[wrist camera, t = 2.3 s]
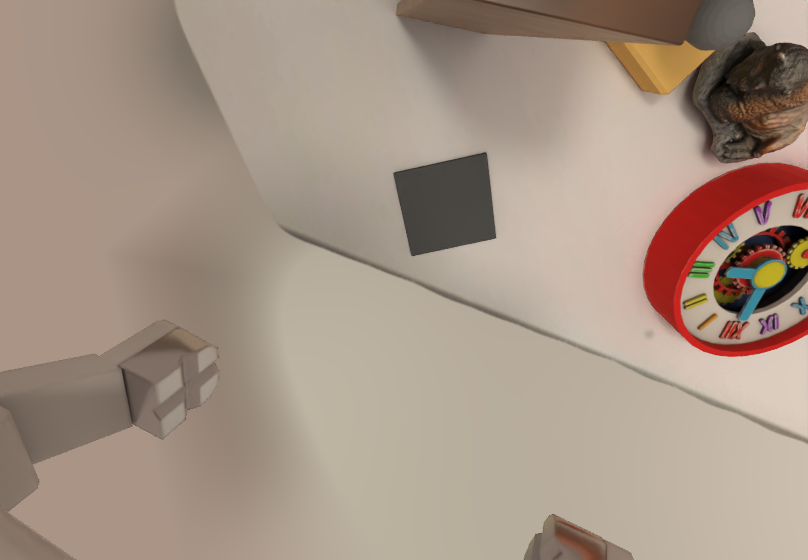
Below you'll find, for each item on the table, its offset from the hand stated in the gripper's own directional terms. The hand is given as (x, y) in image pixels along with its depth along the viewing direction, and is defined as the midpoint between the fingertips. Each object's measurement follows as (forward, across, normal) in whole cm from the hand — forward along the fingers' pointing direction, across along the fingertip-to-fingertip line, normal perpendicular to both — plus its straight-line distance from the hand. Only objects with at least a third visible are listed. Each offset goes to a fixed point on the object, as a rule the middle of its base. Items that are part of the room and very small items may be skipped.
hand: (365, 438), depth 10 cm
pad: (+35, -7, -9) cm, 37 cm away
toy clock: (+49, +23, -8) cm, 55 cm away
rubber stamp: (+41, +3, +10) cm, 43 cm away
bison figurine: (+46, +13, +6) cm, 48 cm away
